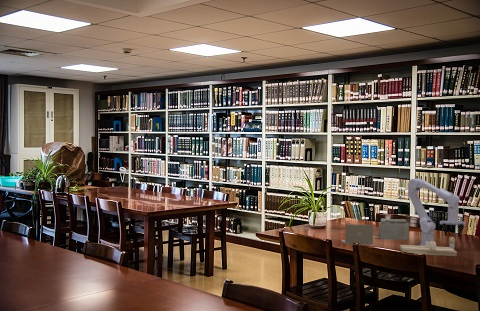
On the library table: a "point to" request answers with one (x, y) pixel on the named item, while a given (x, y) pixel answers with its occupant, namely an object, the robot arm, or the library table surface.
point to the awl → (451, 242)
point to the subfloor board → (428, 250)
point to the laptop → (358, 234)
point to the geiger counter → (393, 229)
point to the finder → (430, 244)
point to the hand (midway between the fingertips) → (452, 236)
